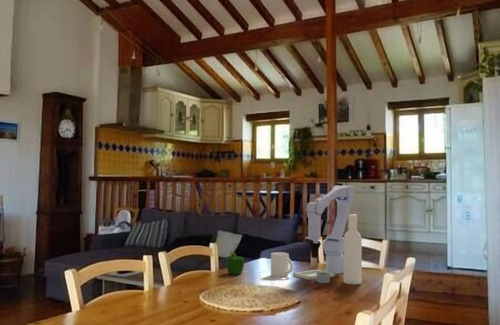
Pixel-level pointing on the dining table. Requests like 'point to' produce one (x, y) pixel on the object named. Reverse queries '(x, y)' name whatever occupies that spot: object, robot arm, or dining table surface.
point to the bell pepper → (235, 264)
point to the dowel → (313, 262)
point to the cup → (323, 277)
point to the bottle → (352, 253)
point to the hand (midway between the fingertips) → (314, 257)
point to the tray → (311, 274)
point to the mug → (280, 264)
